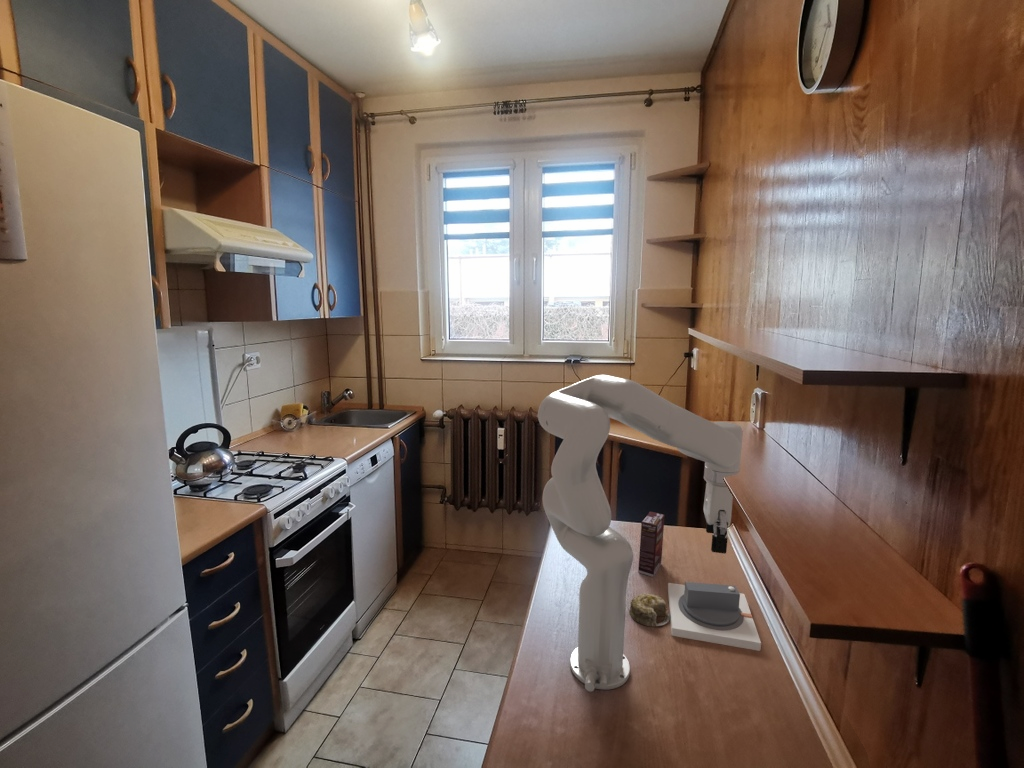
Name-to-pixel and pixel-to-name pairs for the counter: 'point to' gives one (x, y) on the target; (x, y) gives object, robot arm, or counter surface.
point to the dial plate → (691, 628)
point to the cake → (648, 610)
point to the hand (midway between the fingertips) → (715, 542)
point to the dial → (712, 603)
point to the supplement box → (651, 544)
